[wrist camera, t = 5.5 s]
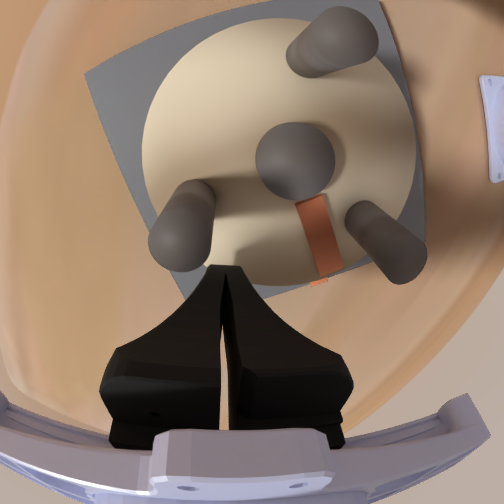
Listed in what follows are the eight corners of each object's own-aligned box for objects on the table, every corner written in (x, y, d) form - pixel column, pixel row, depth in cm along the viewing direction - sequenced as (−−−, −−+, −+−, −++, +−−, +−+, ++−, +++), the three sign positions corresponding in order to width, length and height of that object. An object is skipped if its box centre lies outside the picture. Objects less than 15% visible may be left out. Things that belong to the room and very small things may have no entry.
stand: (367, -2, 9) (377, -8, 8) (417, 234, 16) (428, 243, 15) (92, 75, 10) (81, 73, 9) (197, 308, 17) (196, 322, 16)
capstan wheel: (414, 219, 14) (477, 269, 9) (220, 299, 16) (220, 380, 11) (352, 8, 9) (416, -31, 4) (111, 96, 10) (40, 94, 5)
